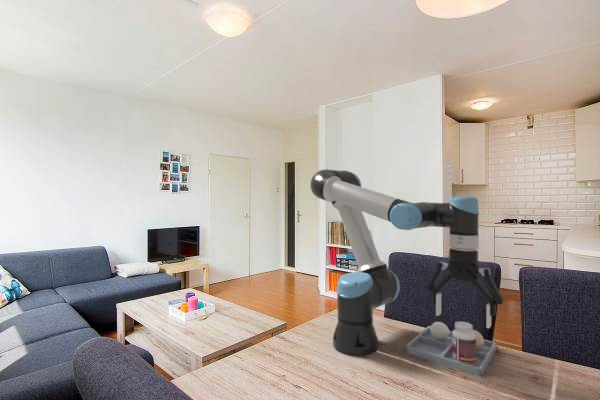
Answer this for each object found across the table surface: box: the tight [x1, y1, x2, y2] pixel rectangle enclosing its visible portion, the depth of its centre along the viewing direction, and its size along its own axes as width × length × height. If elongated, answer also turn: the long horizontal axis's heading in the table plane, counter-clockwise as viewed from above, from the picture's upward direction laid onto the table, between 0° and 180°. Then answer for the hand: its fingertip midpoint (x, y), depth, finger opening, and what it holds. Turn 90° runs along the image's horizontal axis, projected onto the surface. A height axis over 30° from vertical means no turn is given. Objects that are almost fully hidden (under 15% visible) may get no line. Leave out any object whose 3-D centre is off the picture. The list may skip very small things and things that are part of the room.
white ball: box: [430, 321, 450, 341], centre depth 107 cm, size 6×6×6 cm
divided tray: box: [404, 325, 498, 378], centre depth 100 cm, size 21×21×3 cm
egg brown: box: [472, 329, 485, 350], centre depth 101 cm, size 6×6×6 cm
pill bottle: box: [452, 321, 476, 366], centre depth 93 cm, size 6×6×11 cm
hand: (462, 320), depth 93 cm, fingers open, 13 cm apart
